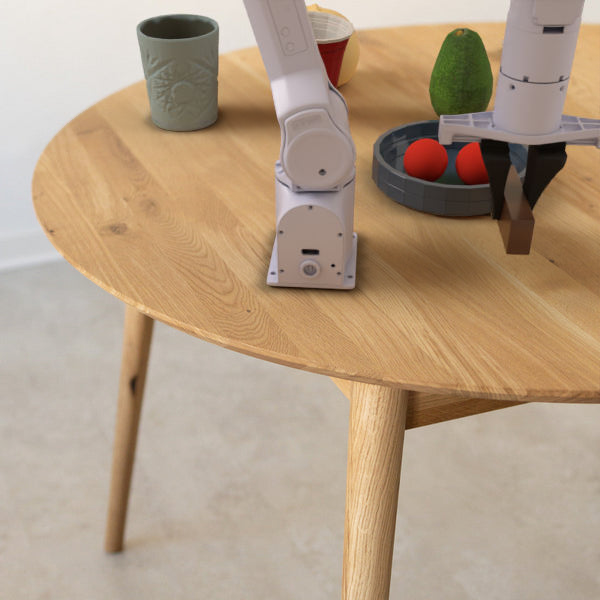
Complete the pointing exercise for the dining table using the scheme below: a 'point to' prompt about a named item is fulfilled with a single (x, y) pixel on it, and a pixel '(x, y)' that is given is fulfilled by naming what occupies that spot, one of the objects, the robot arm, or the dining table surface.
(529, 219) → the wooden block
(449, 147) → the bowl
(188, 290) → the dining table surface
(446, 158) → the tomato
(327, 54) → the plastic cup
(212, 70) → the green ceramic cup
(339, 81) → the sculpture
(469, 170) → the tomato
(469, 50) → the avocado
